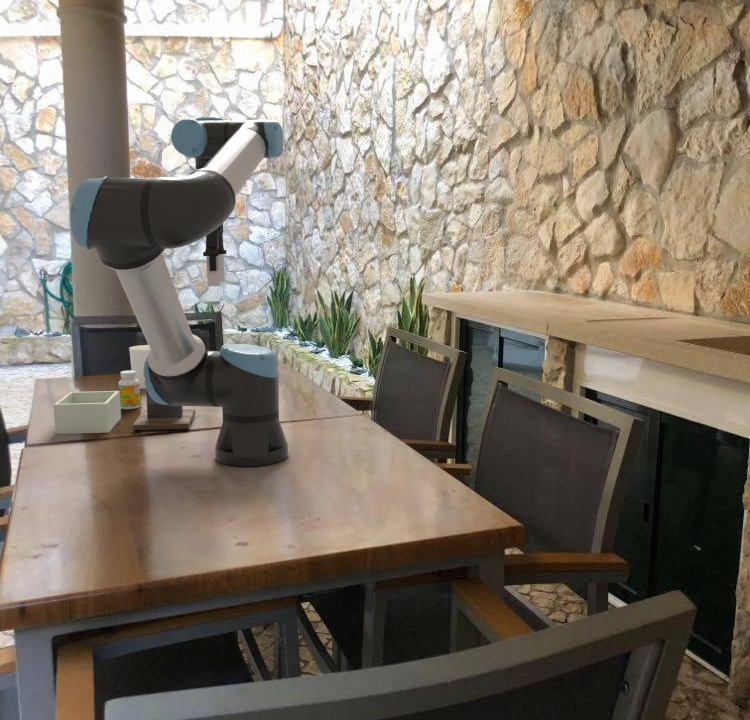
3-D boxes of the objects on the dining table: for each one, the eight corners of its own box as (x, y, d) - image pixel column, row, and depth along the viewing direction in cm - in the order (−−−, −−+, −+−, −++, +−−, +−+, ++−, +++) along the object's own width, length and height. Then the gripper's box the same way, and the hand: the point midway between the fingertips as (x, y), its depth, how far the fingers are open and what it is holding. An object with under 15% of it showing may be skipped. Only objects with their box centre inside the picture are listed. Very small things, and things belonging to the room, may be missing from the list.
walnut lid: (188, 431, 178) (187, 390, 176) (133, 433, 176) (130, 391, 174) (195, 416, 192) (194, 378, 190) (144, 417, 191) (142, 379, 189)
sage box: (108, 432, 176) (107, 403, 175) (55, 434, 174) (53, 404, 173) (121, 417, 189) (119, 390, 188) (71, 419, 188) (69, 392, 187)
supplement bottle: (115, 408, 199) (113, 373, 198) (126, 404, 204) (124, 369, 203) (133, 410, 198) (131, 374, 196) (144, 405, 203) (142, 370, 202)
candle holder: (131, 383, 232) (129, 345, 230) (163, 382, 235) (162, 344, 233) (130, 390, 223) (128, 350, 220) (165, 388, 225) (163, 349, 223)
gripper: (226, 186, 157) (229, 287, 160) (233, 192, 181) (235, 280, 185) (189, 186, 156) (193, 288, 160) (201, 192, 180) (204, 280, 184)
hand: (216, 284), depth 172 cm, fingers open, 13 cm apart
